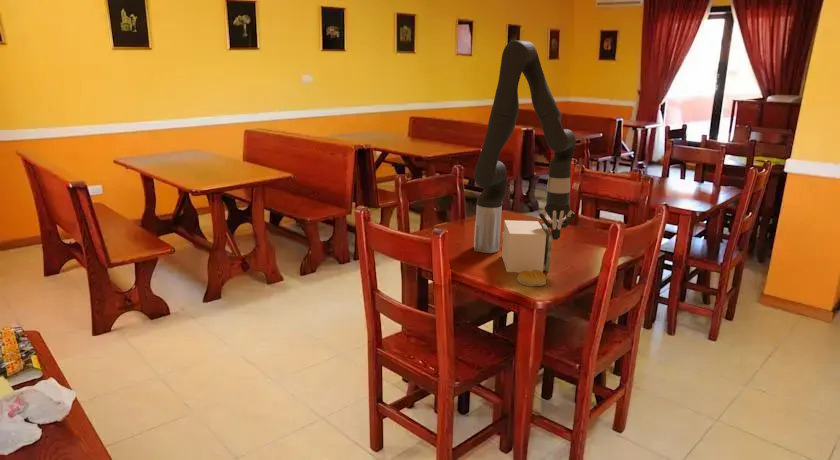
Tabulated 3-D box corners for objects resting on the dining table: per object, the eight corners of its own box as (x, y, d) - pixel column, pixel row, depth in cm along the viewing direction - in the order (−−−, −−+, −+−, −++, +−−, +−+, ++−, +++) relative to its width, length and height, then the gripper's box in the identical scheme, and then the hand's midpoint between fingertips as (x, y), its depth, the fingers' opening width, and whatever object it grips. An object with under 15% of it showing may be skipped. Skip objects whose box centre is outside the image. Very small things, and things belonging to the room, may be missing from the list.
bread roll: (514, 278, 188) (515, 266, 187) (540, 277, 189) (541, 266, 188) (521, 288, 180) (522, 276, 179) (549, 287, 182) (550, 275, 180)
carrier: (509, 270, 194) (512, 234, 191) (504, 256, 208) (507, 222, 204) (551, 271, 194) (554, 235, 190) (543, 257, 207) (547, 223, 204)
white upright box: (506, 271, 193) (509, 233, 189) (501, 255, 209) (504, 220, 205) (542, 273, 193) (546, 234, 189) (534, 257, 209) (538, 221, 205)
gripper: (540, 192, 190) (537, 242, 194) (581, 192, 189) (577, 242, 194) (536, 187, 197) (534, 235, 202) (575, 187, 196) (572, 236, 201)
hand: (555, 239), depth 198 cm, fingers closed
